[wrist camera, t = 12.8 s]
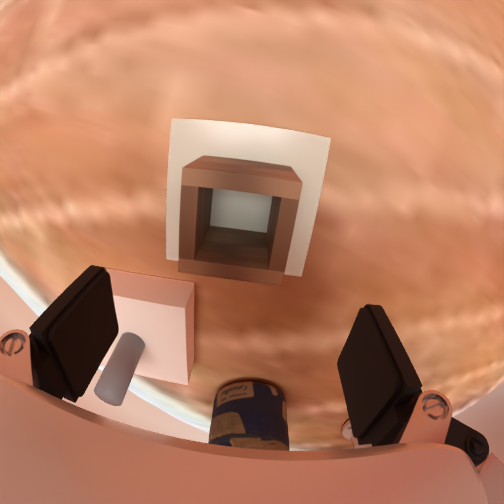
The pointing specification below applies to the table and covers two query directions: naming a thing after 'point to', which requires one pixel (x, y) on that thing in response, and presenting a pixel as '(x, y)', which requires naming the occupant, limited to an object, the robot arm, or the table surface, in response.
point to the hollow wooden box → (229, 239)
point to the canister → (250, 417)
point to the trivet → (243, 203)
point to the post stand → (148, 333)
